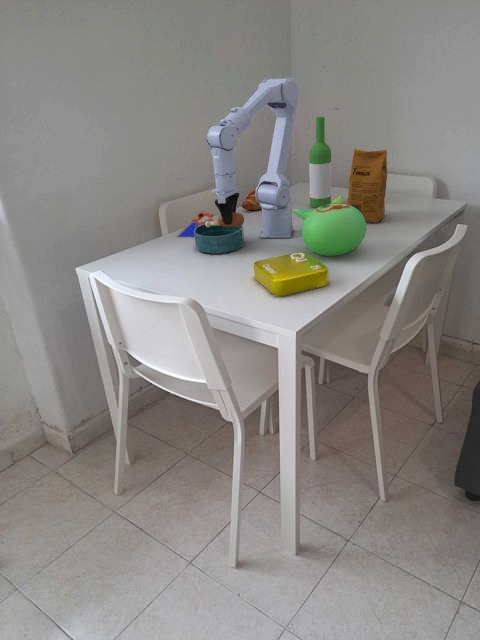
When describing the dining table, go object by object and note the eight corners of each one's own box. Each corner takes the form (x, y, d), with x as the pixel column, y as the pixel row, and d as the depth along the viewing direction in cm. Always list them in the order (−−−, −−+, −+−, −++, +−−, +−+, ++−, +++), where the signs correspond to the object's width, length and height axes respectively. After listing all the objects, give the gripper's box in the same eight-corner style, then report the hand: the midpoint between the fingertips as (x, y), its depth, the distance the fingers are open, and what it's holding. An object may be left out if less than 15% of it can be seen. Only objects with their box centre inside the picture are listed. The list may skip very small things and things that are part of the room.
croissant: (273, 206, 198) (265, 187, 197) (291, 197, 191) (283, 177, 189) (238, 219, 184) (229, 199, 183) (256, 210, 177) (247, 188, 176)
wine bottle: (306, 207, 182) (304, 118, 167) (315, 202, 188) (315, 115, 172) (325, 209, 179) (325, 118, 163) (334, 203, 184) (335, 115, 169)
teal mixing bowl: (248, 237, 157) (246, 220, 154) (239, 254, 145) (237, 236, 142) (203, 238, 160) (200, 221, 157) (190, 254, 147) (187, 237, 144)
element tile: (252, 277, 130) (250, 260, 127) (303, 265, 134) (302, 248, 132) (276, 298, 118) (275, 280, 115) (330, 285, 122) (331, 266, 120)
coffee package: (354, 212, 173) (356, 145, 162) (388, 216, 167) (393, 147, 155) (342, 220, 166) (343, 151, 155) (377, 225, 160) (381, 153, 148)
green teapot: (319, 268, 132) (319, 214, 124) (291, 250, 145) (289, 199, 137) (376, 255, 137) (379, 202, 130) (343, 238, 151) (345, 189, 143)
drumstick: (245, 224, 145) (244, 210, 142) (243, 228, 141) (242, 214, 139) (207, 225, 146) (205, 211, 144) (203, 229, 143) (202, 215, 141)
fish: (195, 208, 171) (219, 208, 169) (197, 222, 173) (220, 222, 171) (183, 220, 160) (208, 219, 158) (185, 234, 162) (210, 234, 161)
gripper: (216, 168, 142) (221, 214, 150) (204, 179, 130) (210, 230, 137) (240, 167, 141) (244, 214, 148) (230, 178, 129) (235, 229, 136)
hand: (229, 221), depth 143 cm, fingers closed on drumstick, 4 cm apart
